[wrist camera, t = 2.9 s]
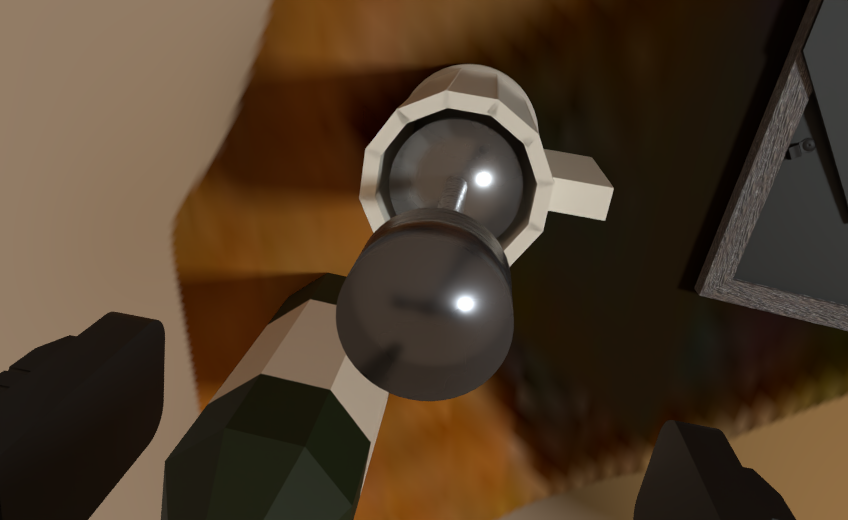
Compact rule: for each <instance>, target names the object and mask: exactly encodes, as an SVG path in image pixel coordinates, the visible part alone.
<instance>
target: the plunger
mask: <svg viewBox="0 0 848 520" xmlns="http://www.w3.org/2000/svg"><path fill="white" fill-rule="evenodd" d="M389 191H390V197H391V202H392V205H393V208H394V210H395V212H396V216H395V217H393V218H391V219H389V220H388V221H386V222H385V223H384V224H383V225H381V226H380V227H379V228H378V229H377V230H376V231H375V232H374V233H373V235H372V236H371V237H370V239H369V240H368V241H367V243H366V245H365V247H364V248H363V250H362V252H361V254H360V255H359V257H358V259H357V260H356V262H355V264H354V266H353V267H352V269H351V271H350V273H349V274H348V276H347V278H346V280H345V282H344V284H343V285H342V288H341V290H340V293H339V296H338V301H337V306H336V326H337V332H338V336H339V339H340V342H341V345H342V347H343V349H344V351H345V353H346V355H347V357H348V358H349V360H350V361H351V363H352V364H353V365H354V367H355V368H356V369H357V370H358V371H359V372H360V373H361V374H362V375H363V376H364V377H365V378H366V379H368V380H369V381H370V382H371V383H373V384H374V385H376V386H377V387H379V388H381V389H383V390H385V391H387V392H389V393H391V394H394V395H397V396H399V397H403V398H407V399H412V400H419V401H438V400H446V399H451V398H455V397H458V396H461V395H464V394H466V393H468V392H470V391H472V390H474V389H476V388H477V387H479V386H480V385H482V384H483V383H484V382H486V381H487V380H488V379H489V378H490V377H491V376H492V375H493V374H494V373H495V372H496V371H497V370H498V368H499V367H500V365H501V364H502V362H503V361H504V359H505V357H506V355H507V353H508V351H509V348H510V344H511V341H512V336H513V304H512V288H511V275H510V268H509V264H508V260H507V257H506V255H505V253H504V251H503V249H502V247H501V245H500V244H499V242H498V241H497V239H496V238H497V237H499V236H500V235H501V234H502V233H503V232H504V231H505V230H506V229H507V228H508V227H509V225H510V224H511V223H512V221H513V220H514V218H515V216H516V215H517V212H518V210H519V208H520V204H521V201H522V195H523V176H522V170H521V166H520V163H519V160H518V158H517V155H516V153H515V151H514V150H513V148H512V146H511V145H510V144H509V142H508V141H507V140H506V139H505V138H504V137H503V136H502V135H501V134H500V133H499V132H497V131H496V130H495V129H493V128H492V127H490V126H488V125H486V124H484V123H482V122H479V121H476V120H472V119H468V118H446V119H441V120H437V121H434V122H432V123H429V124H427V125H425V126H423V127H422V128H420V129H419V130H417V131H416V132H415V133H414V134H412V135H411V136H410V137H409V138H408V140H407V141H406V142H405V143H404V144H403V146H402V147H401V149H400V150H399V151H398V153H397V155H396V157H395V159H394V162H393V165H392V168H391V172H390V179H389Z"/></svg>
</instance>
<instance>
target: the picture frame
mask: <svg viewBox="0 0 848 520" xmlns="http://www.w3.org/2000/svg"><path fill="white" fill-rule="evenodd" d="M694 289H695V290H696V291H697V293H698V294H699V295H700V296H704V297H708V298H713V299H717V300H721V301H725V302H729V303H733V304H738V305H742V306H746V307H750V308H754V309H759V310H763V311H767V312H771V313H775V314H779V315H784V316H788V317H792V318H796V319H800V320H804V321H809V322H813V323H817V324H821V325H825V326H829V327H834V328H838V329H842V330H846V331H848V0H810V1H809V4H808V6H807V9H806V11H805V14H804V16H803V19H802V21H801V24H800V26H799V28H798V31H797V33H796V36H795V38H794V41H793V43H792V46H791V48H790V51H789V53H788V56H787V58H786V61H785V63H784V66H783V68H782V71H781V73H780V76H779V78H778V81H777V83H776V86H775V88H774V91H773V93H772V96H771V98H770V101H769V103H768V106H767V108H766V111H765V113H764V116H763V118H762V121H761V123H760V125H759V128H758V130H757V133H756V135H755V138H754V140H753V143H752V145H751V148H750V150H749V153H748V155H747V158H746V160H745V163H744V165H743V168H742V170H741V173H740V175H739V178H738V180H737V183H736V185H735V188H734V190H733V193H732V195H731V198H730V200H729V203H728V205H727V208H726V210H725V213H724V215H723V218H722V220H721V222H720V225H719V227H718V230H717V232H716V235H715V237H714V240H713V242H712V245H711V247H710V250H709V252H708V255H707V257H706V260H705V262H704V265H703V267H702V270H701V272H700V275H699V277H698V280H697V282H696V285H695V287H694Z"/></svg>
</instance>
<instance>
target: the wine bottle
mask: <svg viewBox="0 0 848 520" xmlns="http://www.w3.org/2000/svg"><path fill="white" fill-rule="evenodd" d="M346 278H347V277H344V276H340V275H336V274H331V273H327V274H325V275H323V276H322V277H320V278H319V279H317V280H315V281H314V282H312V283H310V284H309V285H307V286H305V287H304V288H302V289H301V290H299V291H297V292H296V293H294V294H292V295H291V296H289V297H288V298H287V300H286V301H285V302H284V304H283V305H282V306H281V308H280V309H279V310H278V312H277V313H276V314H275V316H274V317H273V318H272V320H271V321H270V322H269V324H268V325H267V326H266V328H265V329H264V330H263V332H262V333H261V334H260V336H259V337H258V338H257V340H256V341H255V342H254V343H253V345H252V346H251V347H250V349H249V350H248V351H247V353H246V354H245V355H244V357H243V358H242V359H241V361H240V362H239V363H238V365H237V366H236V367H235V369H234V370H233V371H232V373H231V374H230V375H229V377H228V378H227V379H226V381H225V382H224V383H223V385H222V386H221V387H220V389H219V390H218V391H217V393H216V394H215V395H214V397H213V398H212V399H211V401H210V402H209V403H208V405H207V406H206V407H205V409H204V410H203V411H202V413H201V414H200V415H199V417H198V418H197V419H196V421H195V422H194V424H193V425H192V426H191V427H190V429H189V430H188V432H187V433H186V434H185V435H184V437H183V438H182V439H181V441H180V442H179V444H178V445H177V446H176V447H175V449H174V450H173V451H172V453H171V454H170V455H169V457H168V458H167V459H166V461H165V470H164V483H163V498H162V511H161V520H353V519H354V515H355V512H356V508H357V505H358V501H359V498H360V494H361V491H362V487H363V484H364V480H365V477H366V473H367V470H368V466H369V463H370V459H371V456H372V452H373V449H374V445H375V442H376V438H377V435H378V431H379V427H380V424H381V420H382V417H383V413H384V410H385V406H386V403H387V399H388V396H389V392H387V391H385V390H383V389H381V388H379V387H377V386H376V385H374V384H373V383H371V382H370V381H369V380H368V379H366V378H365V377H364V376H363V375H362V374H361V373H360V372H359V371H358V370H357V369H356V368H355V367H354V365H353V364H352V363H351V361H350V360H349V358H348V357H347V355H346V353H345V351H344V349H343V347H342V345H341V342H340V339H339V336H338V332H337V326H336V306H337V301H338V296H339V293H340V290H341V288H342V285H343V284H344V282H345V280H346Z"/></svg>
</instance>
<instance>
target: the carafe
mask: <svg viewBox="0 0 848 520" xmlns="http://www.w3.org/2000/svg"><path fill="white" fill-rule="evenodd" d="M446 118H468V119H472V120H476V121H479V122H482V123H484V124H486V125H488V126H490V127H492V128H493V129H495V130H496V131H497V132H499V133H500V134H501V135H502V136H503V137H504V138H505V139H506V140H507V141H508V142H509V144H510V145H511V146H512V148H513V150H514V151H515V153H516V155H517V158H518V160H519V163H520V166H521V170H522V176H523V195H522V201H521V204H520V208H519V210H518V212H517V215H516V216H515V218H514V220H513V221H512V223H511V224H510V225H509V227H508V228H507V229H506V230H505V231H504V232H503V233H502V234H501V235H500V236H499V237H497V238H496V239H497V241H498V242H499V244H500V245H501V247H502V249H503V251H504V253H505V255H506V257H507V260H508V264H509V267H510V266H511V265H512V264H513V262H514V261H515V260H516V259H517V258H518V257H519V256H520V255H521V254H522V253H523V252H524V251H525V250H526V249H527V248H528V247H529V246H530V245H531V244H532V242H533V241H534V240H535V239H536V238H537V237H538V236H539V235H540V234H541V233H542V232H543V229H544V225H545V220H546V216H547V212H548V210H549V211H554V212H560V213H566V214H571V215H577V216H582V217H588V218H593V219H599V220H604V221H605V219H606V215H607V212H608V208H609V204H610V201H611V197H612V193H613V189H614V188H613V186H612V185H611V183H610V182H609V181H608V179H607V178H606V176H605V175H604V174H603V172H602V171H601V170H600V168H599V167H598V165H597V164H596V163H595V161H594V160H593V158H592V157H586V156H581V155H575V154H569V153H564V152H558V151H552V150H547V149H543V147H542V144H541V140H540V137H539V133H538V123H537V119H536V115H535V112H534V109H533V107H532V104H531V102H530V100H529V98H528V97H527V95H526V93H525V92H524V91H523V90H522V88H521V87H520V86H519V85H518V84H517V83H516V82H515V81H514V80H513V79H511V78H510V77H509V76H508V75H506V74H504V73H503V72H501V71H499V70H497V69H494V68H492V67H489V66H484V65H480V64H459V65H453V66H450V67H447V68H444V69H442V70H439V71H437V72H435V73H434V74H432V75H431V76H429V77H428V78H426V79H425V80H424V81H423V82H422V83H421V84H419V85H418V87H417V88H416V89H415V90H414V91H413V92H412V94H411V95H410V97H409V98H408V99H407V100H406V101H405V102H404V103H403V104H402V105H400V106H399V107H398V108H397V109H396V111H395V112H394V113H393V115H392V116H391V117H390V118H389V120H388V121H387V122H386V124H385V125H384V126H383V127H382V129H381V130H380V131H379V132H378V134H377V135H376V136H375V138H374V139H373V140H372V141H371V143H370V144H369V145H368V146H367V147H366V148H365V156H364V164H363V172H362V180H361V187H360V195H359V199H360V201H361V204H362V206H363V209H364V211H365V213H366V216H367V218H368V220H369V223H370V225H371V228H372V230H373V232H375V231H376V230H377V229H378V228H379V227H380V226H381V225H383V224H384V223H385V222H386V221H388V220H389V219H391V218H393V217H395V216H396V212H395V210H394V208H393V205H392V202H391V197H390V191H389V179H390V172H391V168H392V165H393V162H394V159H395V157H396V155H397V153H398V151H399V150H400V149H401V147H402V146H403V144H404V143H405V142H406V141H407V140H408V138H409V137H410V136H411V135H412V134H414V133H415V132H416V131H417V130H419V129H420V128H422V127H423V126H425V125H427V124H429V123H432V122H434V121H437V120H441V119H446Z"/></svg>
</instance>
